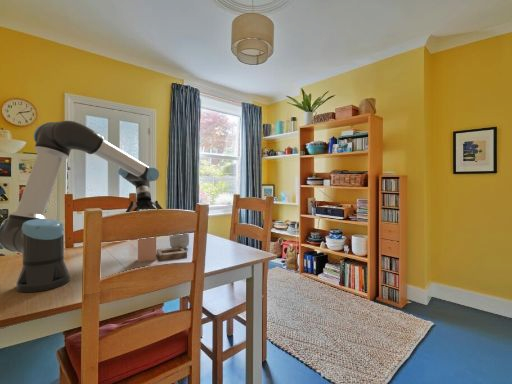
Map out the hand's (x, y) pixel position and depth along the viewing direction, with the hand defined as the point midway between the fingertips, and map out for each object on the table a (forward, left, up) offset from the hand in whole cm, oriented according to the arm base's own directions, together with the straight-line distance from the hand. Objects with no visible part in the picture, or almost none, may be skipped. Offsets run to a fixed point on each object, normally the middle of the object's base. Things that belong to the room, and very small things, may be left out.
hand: (146, 226), depth 134 cm
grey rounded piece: (+19, +8, -15) cm, 25 cm away
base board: (+11, -6, -15) cm, 20 cm away
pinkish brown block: (-1, -8, -15) cm, 17 cm away
